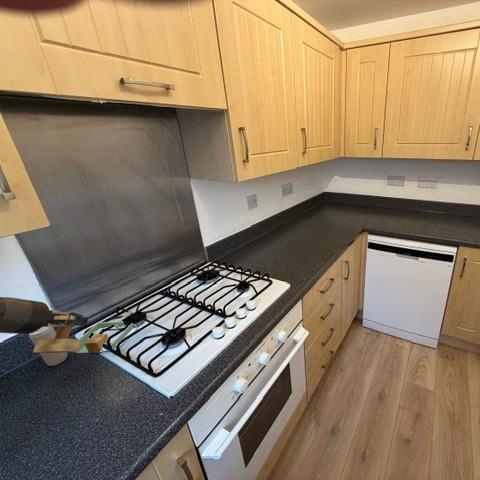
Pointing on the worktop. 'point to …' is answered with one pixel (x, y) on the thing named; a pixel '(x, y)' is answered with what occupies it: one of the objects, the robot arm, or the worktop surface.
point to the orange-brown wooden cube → (96, 343)
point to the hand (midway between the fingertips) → (80, 322)
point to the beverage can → (49, 358)
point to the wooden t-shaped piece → (58, 342)
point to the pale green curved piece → (102, 325)
